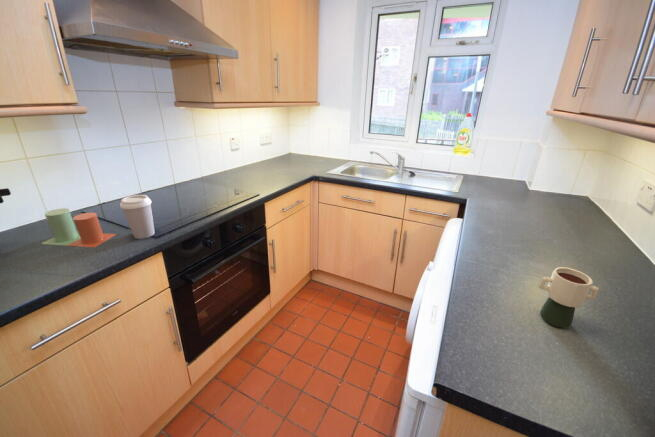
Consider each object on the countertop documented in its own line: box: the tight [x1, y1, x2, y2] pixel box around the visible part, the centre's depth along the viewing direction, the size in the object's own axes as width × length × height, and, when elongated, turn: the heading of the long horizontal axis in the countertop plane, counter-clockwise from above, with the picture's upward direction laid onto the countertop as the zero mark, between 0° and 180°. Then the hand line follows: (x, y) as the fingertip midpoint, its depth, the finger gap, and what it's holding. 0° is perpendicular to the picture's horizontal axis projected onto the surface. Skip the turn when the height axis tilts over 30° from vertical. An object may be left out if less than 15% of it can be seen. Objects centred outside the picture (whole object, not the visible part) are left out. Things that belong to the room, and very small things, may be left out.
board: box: [40, 231, 117, 248], centre depth 105 cm, size 10×20×1 cm, turn 84°
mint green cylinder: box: [44, 207, 78, 242], centre depth 103 cm, size 6×6×10 cm
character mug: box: [538, 266, 600, 329], centre depth 69 cm, size 11×7×13 cm, turn 69°
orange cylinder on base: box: [72, 212, 104, 244], centre depth 102 cm, size 6×6×9 cm
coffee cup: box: [119, 194, 156, 240], centre depth 106 cm, size 10×10×15 cm
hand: (6, 195), depth 93 cm, fingers open, 8 cm apart
